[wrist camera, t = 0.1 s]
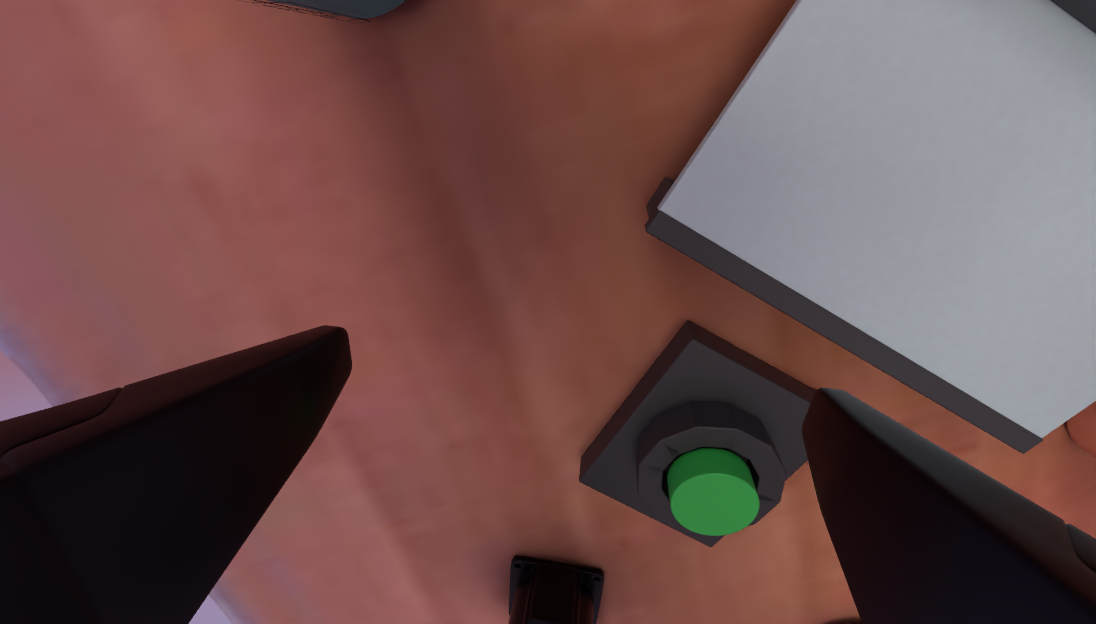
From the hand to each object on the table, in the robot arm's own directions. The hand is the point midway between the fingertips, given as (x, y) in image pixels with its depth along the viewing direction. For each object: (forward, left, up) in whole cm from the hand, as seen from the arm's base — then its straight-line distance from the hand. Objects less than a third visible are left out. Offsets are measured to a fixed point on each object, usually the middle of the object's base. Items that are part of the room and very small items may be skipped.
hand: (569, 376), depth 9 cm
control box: (-12, -7, -15) cm, 20 cm away
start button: (-12, -7, -11) cm, 18 cm away
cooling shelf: (+2, -14, -15) cm, 20 cm away
